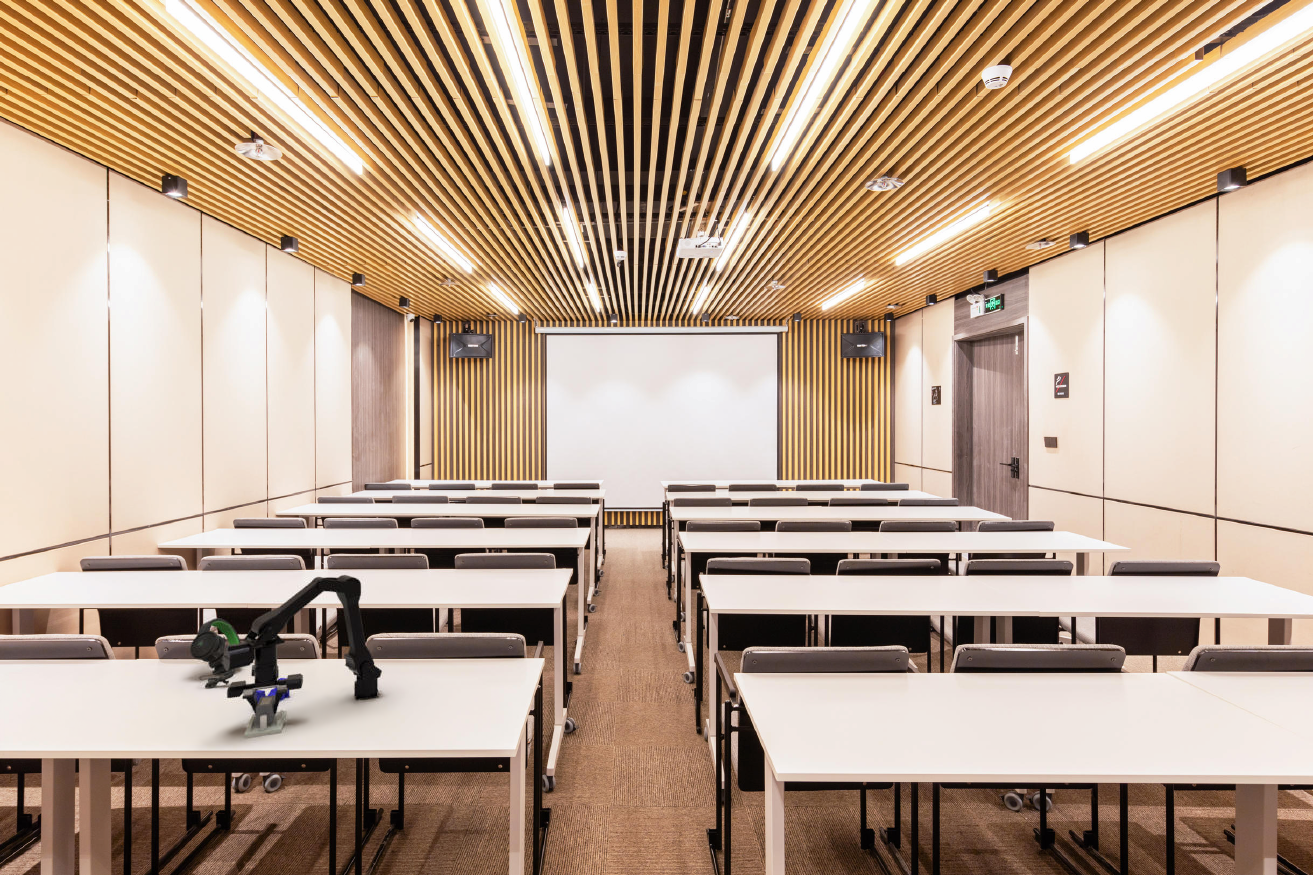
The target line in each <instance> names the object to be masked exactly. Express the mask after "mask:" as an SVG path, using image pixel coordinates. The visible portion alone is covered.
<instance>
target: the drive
mask: <svg viewBox="0 0 1313 875" xmlns="http://www.w3.org/2000/svg"><path fill="white" fill-rule="evenodd" d="M274 704H275V695H274V696H267V695H266V697H261V698H260V700H259V702H258V704H257V706H256V725H260V716H262V715H267V723H272V722H273V719H274V717H275V714H274Z"/></svg>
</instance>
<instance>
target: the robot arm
mask: <svg viewBox="0 0 1313 875" xmlns="http://www.w3.org/2000/svg"><path fill="white" fill-rule="evenodd" d="M324 592H328V593H329V592H330V593H335V594H336V596H337V599H338V600H339V602H340V603H341V605H342V610H343V614H344V621H345V627H346V632H347V638H348V644H349V648H348V652H347V653H344V654H343V657H344V659H345V665H344V666H345V667H347V668H348V670H349V671H351V672H352V673H353V675H354V676H356V680H355V681H354V684H353V686H354V697H355V700H357V701H359V700H366V699H375V698H378V697H379V689H378V686H379V684H378V681H379V680H378V679H379V678H381V676H382V672H383V670H381V669H380V668H379V667H377V665H375V661H374V659H373V658H374V657H373V656H372V653H371V651H370V650H369V648H368V647H367V645H366V639H365V634H364V628H363V622H362V616H361V609H360V603H359V602H360V599H361V596H362V583H361V581H360V579H359V578H357V577H354V576H350V575H348V574H344V575H343V574H341V575H339V576H338V577H336V576H335V577H330V576H329V577H322V576H316V577H314V578H313V579H312V580H311V582H309V583H308V584H307V585H305V586H304V587H303V588H302V589H300V590H299V591H297V592H296V593H295V594H294V595H293V596H291V597H290V598H289V599H287V600H286V601H285V602H284V603H283V604H281V605H280V606H278V607H277V608H275V609H272V610H270V611H268V612H266V613H264V614H262V615H260V616H257V618H255V619H254V621H253V622H252V623H251V628H250V630H249V632H248V633H247V634H246V636H244V638H243V642H241V643H239V644H231V645H230V644H227V645H226V644H225V649H224V651H223V652H224V656H223V664H224V668H225V670H226V671H228V670H232V669H233V670H236V669H237V670H238V669H240V668H244V667H249V666H251V673H250V674H251V677H254V682H253V683H247V681H246V680H239V681H232V682H231V683H230V684H229V686H228V687H227V691H226V698H227V699H234V698H239V697H241V696H242V697H241V699H243V700H246V701H247V702H248V704H249V705H250V706H251V708H252V711H253V710H254V711H253V712H254V714H256V706H257V704H258V701H257V690H265V689H274V688H276V687H277V691H276V695H275V704H274V714H276V712H278V711H277V710H278V708H279V704H280V702H281V701H280V700H281V698H282V696H283V694H285V693H287V692H288V690H289V691H293V690H300V689H302V688H303V684H304V683H303V682H304V675H303V674H302V673H294V674H288V675H287V677H286V678H287V679H284V680H278V679H280V678H279V671H280V670H279V665H278V645H282V644H285V643H286V641H285V639H282V638H281V636H279V633H281V632H282V630H283V629H284V628H285V627H286V625H287V623H288V622H289V621H290V619H292V618H293V617H294V616H295V615H296V614H297V613H299V612H300V611H301V610H303V608H306V607H307V606H308V605H309V604H310V603H311V602H312V601H313V600H315V599H317V597H319V596H320V595H321V594H322V593H324Z"/></svg>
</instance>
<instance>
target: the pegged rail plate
mask: <svg viewBox="0 0 1313 875" xmlns="http://www.w3.org/2000/svg"><path fill="white" fill-rule="evenodd" d="M286 717H287V710H284V709H281V710H279V711H276V714H275V717H274V719H273V722H272V723H267V715H262V716H260V725H256V714H255V713H252V715H251V717H250V720H249V722H248V725H247V727H246V729H245V732H244V736H243V737H244V739H247V738H254V737H255V738H256V737H260V736H261V737H262V736H267V735H275V734H281V733H282V730H283V727H284V723H285V719H286Z"/></svg>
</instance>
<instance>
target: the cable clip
mask: <svg viewBox="0 0 1313 875" xmlns="http://www.w3.org/2000/svg"><path fill="white" fill-rule="evenodd" d="M284 679H287V677H280V678H278V679H277V680H284ZM276 691H277V687H275V688H271V689H270V691H269V693H268V694H267V695H266V690H264V689H259V690H257V701H258V702H259V700H260V698H261V697H266V696H274V695H276ZM289 697H290V690H288V692H287V693H285V694H283V696H282V698H281V700H280V702H282V701H284V700H285V699H288V698H289ZM252 711H253V712H254V710H253V709H252Z"/></svg>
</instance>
